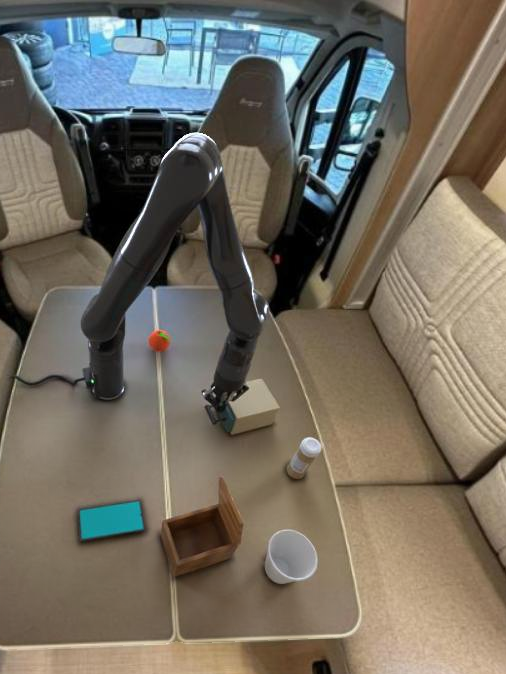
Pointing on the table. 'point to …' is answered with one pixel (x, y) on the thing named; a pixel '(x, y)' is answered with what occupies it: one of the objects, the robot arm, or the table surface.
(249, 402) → the cabinet
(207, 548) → the chest
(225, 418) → the drawer
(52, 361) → the table surface
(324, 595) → the table surface
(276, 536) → the cup
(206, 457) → the table surface
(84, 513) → the smartphone
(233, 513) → the chest lid
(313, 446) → the sprinkles bottle
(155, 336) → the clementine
